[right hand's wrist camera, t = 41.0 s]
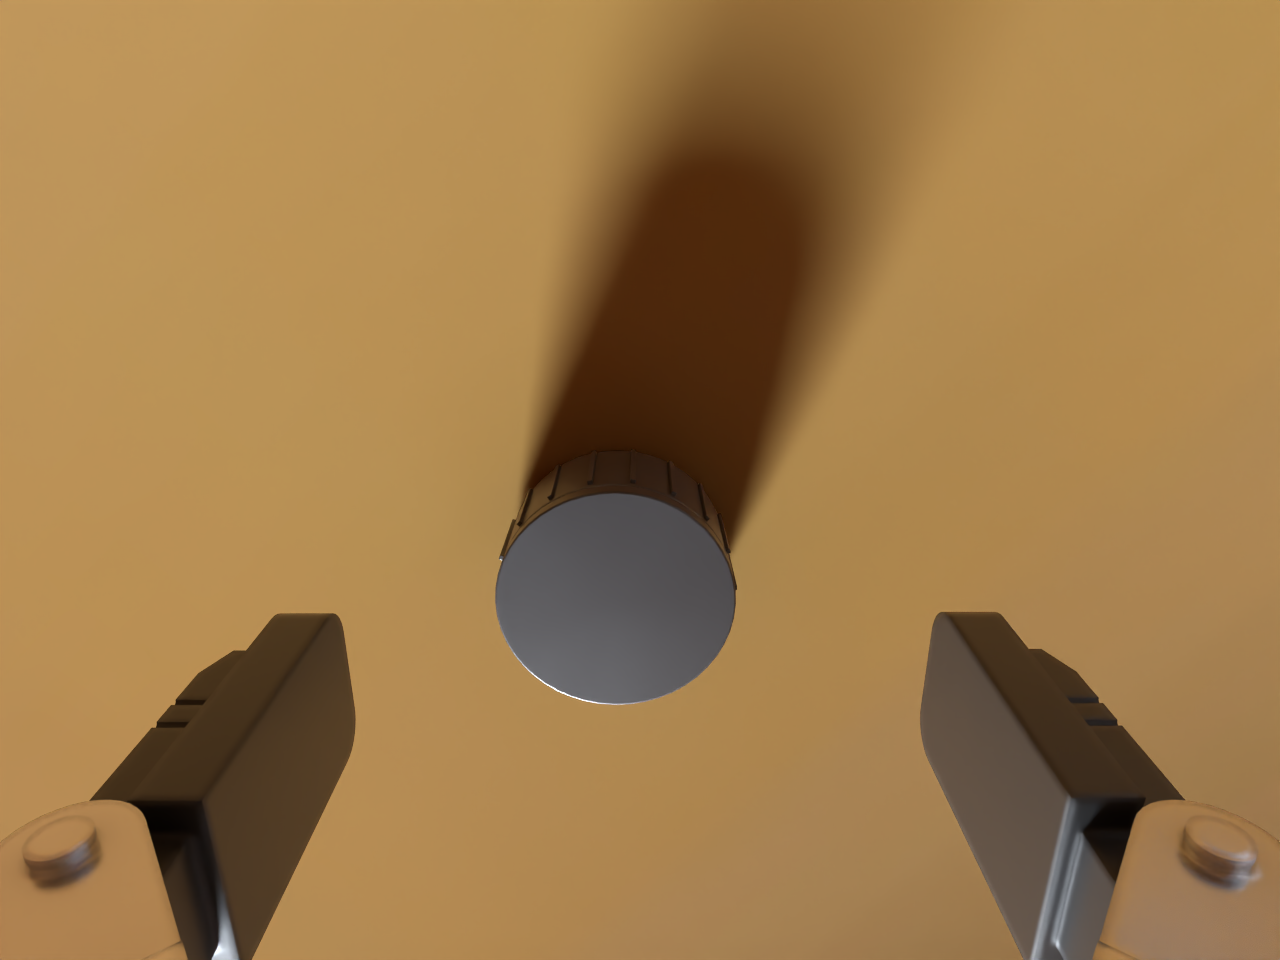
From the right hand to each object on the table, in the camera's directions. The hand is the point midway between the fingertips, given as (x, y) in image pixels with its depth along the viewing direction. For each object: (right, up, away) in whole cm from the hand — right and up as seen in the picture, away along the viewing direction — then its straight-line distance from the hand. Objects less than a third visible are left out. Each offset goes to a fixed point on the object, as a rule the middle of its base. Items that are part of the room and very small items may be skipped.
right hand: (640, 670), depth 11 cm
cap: (0, +1, +3) cm, 3 cm away
